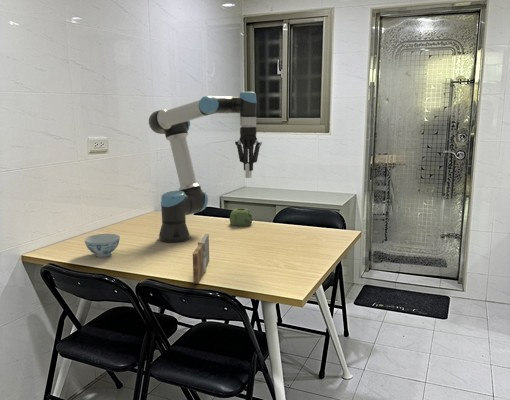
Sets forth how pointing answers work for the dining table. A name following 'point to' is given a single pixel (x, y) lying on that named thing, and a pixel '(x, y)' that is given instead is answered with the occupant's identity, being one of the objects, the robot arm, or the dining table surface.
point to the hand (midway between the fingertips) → (248, 177)
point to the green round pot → (240, 217)
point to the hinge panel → (206, 259)
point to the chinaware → (102, 244)
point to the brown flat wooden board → (198, 261)
